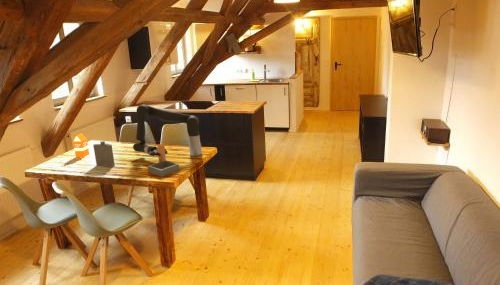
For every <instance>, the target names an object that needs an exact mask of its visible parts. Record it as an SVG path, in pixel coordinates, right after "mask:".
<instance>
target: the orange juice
mask: <svg viewBox="0 0 500 285" xmlns="http://www.w3.org/2000/svg"><path fill="white" fill-rule="evenodd" d="M72 145H73V148H74V154H75V158H76V157H84V158H86V157H88V156H89V155H90V151H89V144H88V139H87V138H86V136H85V135H84V134H83V133H82V132H80V133H78V134H76V135H75V137H74V139H73V144H72ZM87 155H88V156H87ZM85 156H86V157H85Z"/></svg>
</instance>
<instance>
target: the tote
mask: <svg viewBox="0 0 500 285" xmlns="http://www.w3.org/2000/svg"><path fill="white" fill-rule="evenodd" d="M147 170H148V173H149V174H152V175H154V176H155V175H156V176H158V177H160V178H162V177H165V176H168V175H170V174H174V173H177V172H179V171H180V165H179V163H176V162H172V161H169V160H167V159H166V160H165V161H162V162H159V161H158V162H155V163H153V164H150V165H148V166H147Z"/></svg>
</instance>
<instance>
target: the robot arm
mask: <svg viewBox="0 0 500 285" xmlns="http://www.w3.org/2000/svg"><path fill="white" fill-rule="evenodd" d="M147 116H150V117H156V118H157V119H159V120H161V121H163V122H168V123H169V122H170V123H182V124H183V123H184V124H185V125H186V129H187V130H186V131H187V132H186V133H187V134H188V135H187V136H188V148H189V149H188V150H189V156H191V157H198V156H200V155H202V154H203V153H202V152H203V151H202V142H201V139H200V138H201V137H200V131H199V123H200V120H199V117H198V116H196V115H191V114H184V113H179V112H177V111H173V110H169V109H164V108H156V107H154V106H150V105H147V104H141V105H138V106H137V107H136V119H137V120H136V123H137V124H136V134H135V135H136V136H135V139H136V140H137V141H140V142H134V143H133V145H132V149H133V150H134V151H135V152H136V153H144V154H147V155H148V156H151V157H155V156H157V157H158V156H160V153H158V149H157V146H154V145H150V144H147V143H146V137H145V136H146V124H145V123H146V122H145V120H146V117H147ZM165 155H168V150H167V149H166V148H165Z"/></svg>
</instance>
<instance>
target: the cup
mask: <svg viewBox="0 0 500 285" xmlns="http://www.w3.org/2000/svg"><path fill="white" fill-rule="evenodd" d="M165 146H166V145H164V144H159V145H157V146H156V147H157V149H158V153H160V156H157V158H158V163H159V162H162V161H165V160H167V157H166V156H167V154H165V149H166V148H165Z"/></svg>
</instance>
